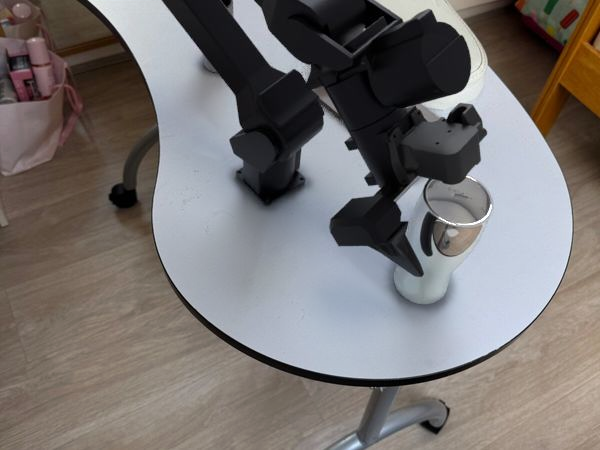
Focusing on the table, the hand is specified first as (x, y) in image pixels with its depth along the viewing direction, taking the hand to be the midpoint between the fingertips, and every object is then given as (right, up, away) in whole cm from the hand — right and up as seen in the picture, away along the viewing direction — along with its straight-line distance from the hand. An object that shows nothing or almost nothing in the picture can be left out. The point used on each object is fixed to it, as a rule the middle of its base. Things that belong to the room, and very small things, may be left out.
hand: (443, 247), depth 60 cm
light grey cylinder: (-27, +26, +26) cm, 46 cm away
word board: (-3, +17, +22) cm, 28 cm away
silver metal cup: (-1, -4, +7) cm, 8 cm away
